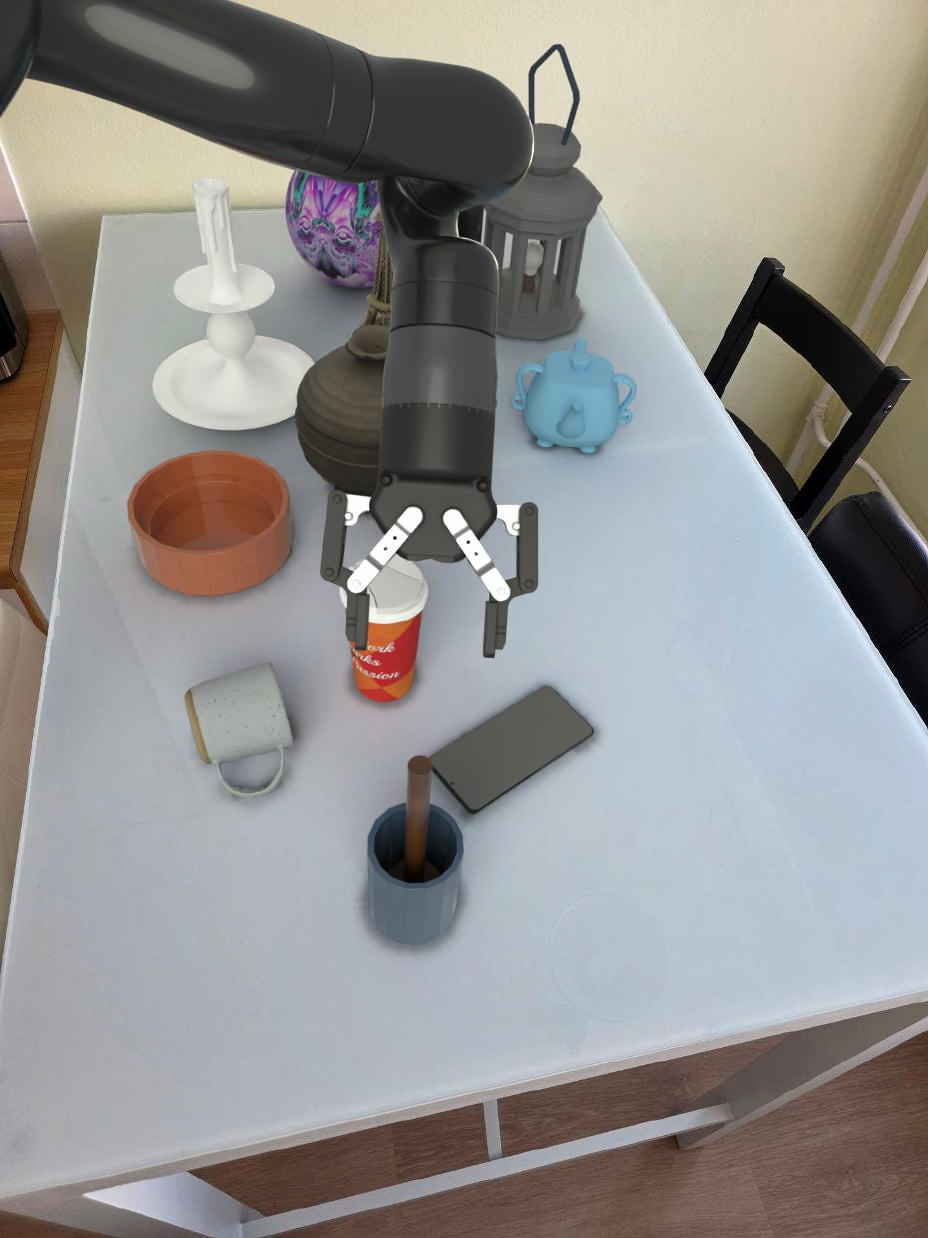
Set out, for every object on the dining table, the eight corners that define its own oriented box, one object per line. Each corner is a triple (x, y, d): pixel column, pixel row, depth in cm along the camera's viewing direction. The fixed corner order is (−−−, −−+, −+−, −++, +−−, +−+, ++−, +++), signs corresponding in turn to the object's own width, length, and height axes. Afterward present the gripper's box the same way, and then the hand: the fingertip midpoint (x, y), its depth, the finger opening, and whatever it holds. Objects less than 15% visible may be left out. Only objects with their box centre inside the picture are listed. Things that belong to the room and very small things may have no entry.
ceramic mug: (190, 718, 84) (175, 668, 78) (277, 694, 86) (270, 644, 81) (214, 816, 78) (201, 769, 72) (307, 787, 80) (302, 740, 74)
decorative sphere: (265, 291, 134) (251, 150, 119) (329, 236, 147) (323, 101, 132) (388, 326, 130) (389, 184, 115) (443, 266, 143) (450, 131, 128)
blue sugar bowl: (576, 396, 123) (587, 319, 115) (646, 450, 115) (663, 372, 107) (500, 424, 118) (505, 346, 110) (567, 483, 110) (579, 403, 102)
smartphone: (597, 730, 85) (472, 813, 78) (595, 735, 86) (471, 819, 79) (548, 682, 88) (424, 758, 82) (546, 687, 89) (424, 763, 82)
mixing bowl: (247, 618, 93) (240, 573, 88) (109, 572, 95) (94, 526, 91) (317, 519, 103) (314, 474, 98) (191, 480, 106) (181, 435, 101)
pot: (301, 544, 99) (292, 377, 85) (296, 453, 112) (287, 295, 98) (463, 538, 102) (479, 376, 88) (440, 449, 115) (451, 296, 101)
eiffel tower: (386, 333, 129) (386, 149, 110) (441, 364, 125) (451, 178, 106) (331, 362, 124) (322, 173, 105) (387, 395, 119) (388, 205, 101)
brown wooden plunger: (429, 937, 71) (441, 808, 56) (373, 915, 72) (370, 783, 57) (450, 883, 74) (467, 748, 59) (396, 863, 75) (399, 724, 60)
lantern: (446, 302, 136) (461, 35, 110) (525, 270, 144) (556, 14, 118) (525, 353, 128) (561, 78, 102) (604, 316, 136) (656, 52, 110)
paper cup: (328, 675, 88) (320, 575, 78) (389, 636, 92) (389, 536, 82) (379, 726, 85) (378, 628, 74) (440, 684, 89) (448, 585, 78)
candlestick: (298, 331, 128) (282, 117, 107) (337, 437, 113) (326, 213, 92) (147, 347, 123) (98, 127, 102) (165, 461, 108) (113, 229, 87)
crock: (437, 958, 71) (443, 903, 63) (354, 926, 72) (351, 869, 65) (467, 879, 75) (476, 820, 68) (389, 850, 77) (390, 789, 69)
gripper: (323, 390, 56) (311, 653, 57) (554, 405, 56) (538, 665, 57) (335, 410, 63) (324, 643, 64) (539, 424, 64) (525, 653, 65)
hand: (425, 653), depth 61 cm, fingers open, 8 cm apart
